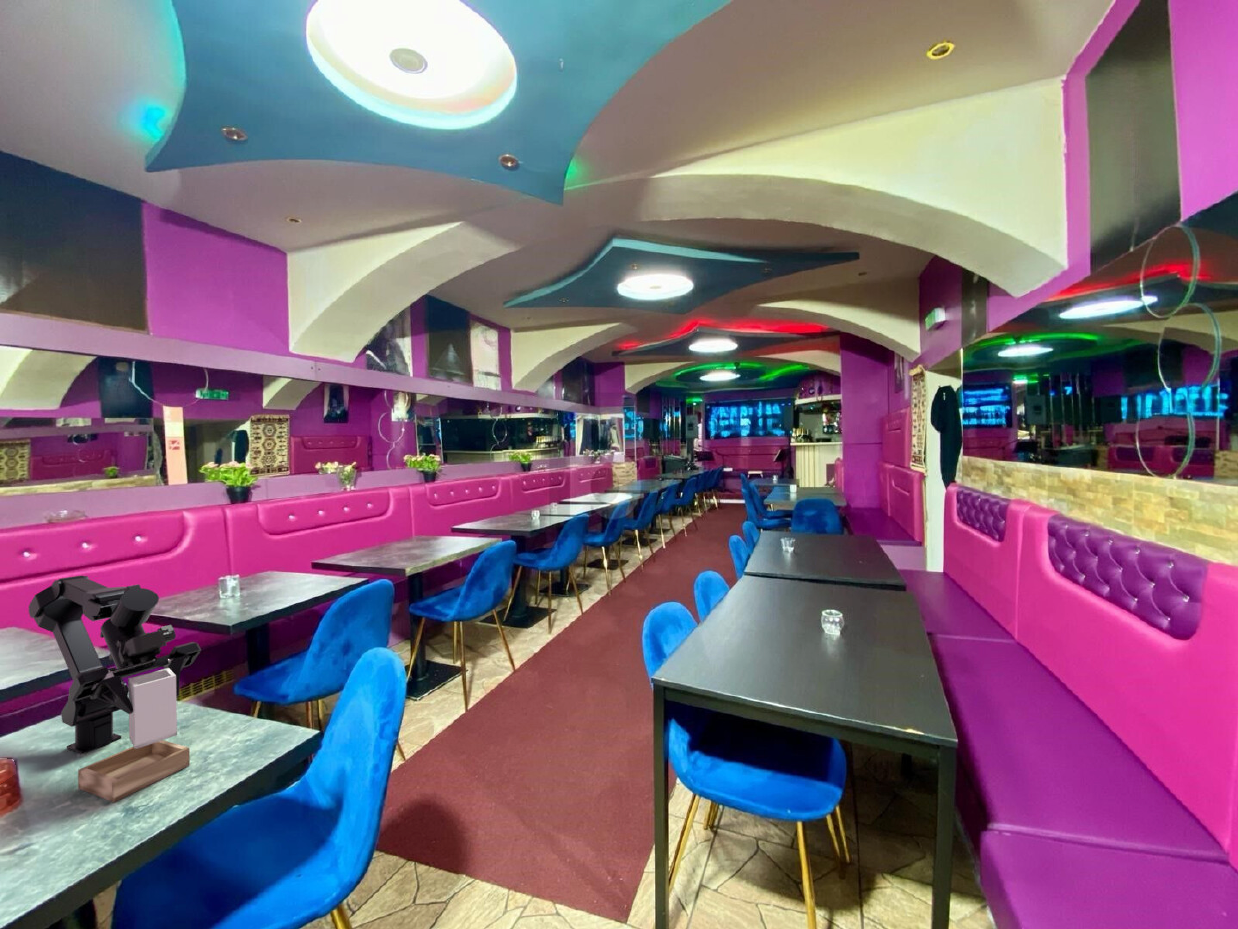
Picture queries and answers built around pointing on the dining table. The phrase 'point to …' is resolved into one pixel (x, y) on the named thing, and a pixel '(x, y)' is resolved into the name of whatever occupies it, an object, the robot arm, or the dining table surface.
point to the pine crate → (132, 769)
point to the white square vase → (152, 707)
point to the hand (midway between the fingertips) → (154, 704)
